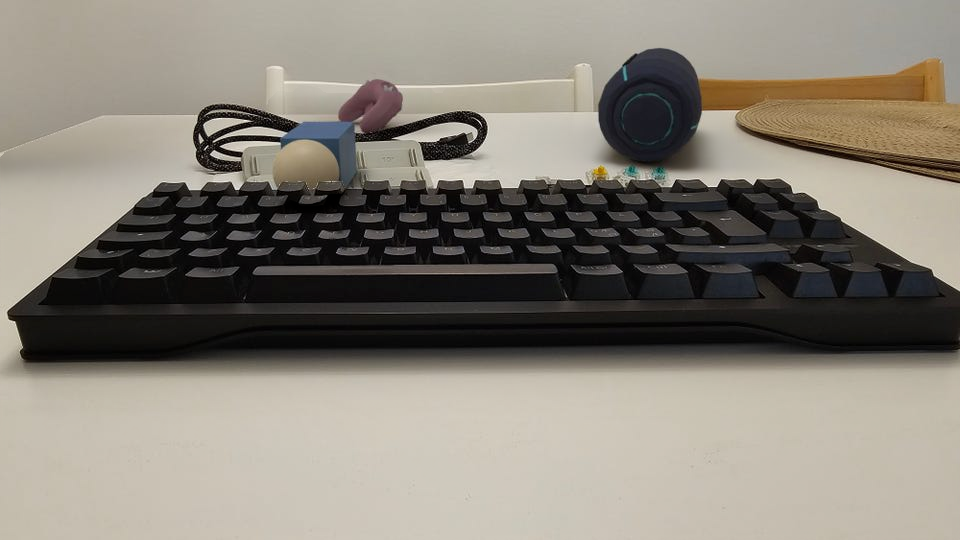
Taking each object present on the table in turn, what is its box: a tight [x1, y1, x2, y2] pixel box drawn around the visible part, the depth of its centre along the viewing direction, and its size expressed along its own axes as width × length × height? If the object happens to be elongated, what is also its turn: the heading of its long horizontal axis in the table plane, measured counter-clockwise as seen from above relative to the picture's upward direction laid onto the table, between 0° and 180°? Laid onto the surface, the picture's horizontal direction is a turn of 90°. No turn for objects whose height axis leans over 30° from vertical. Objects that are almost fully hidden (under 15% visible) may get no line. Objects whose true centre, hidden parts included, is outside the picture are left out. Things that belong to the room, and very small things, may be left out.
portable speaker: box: [597, 47, 703, 163], centre depth 75 cm, size 25×10×10 cm, turn 164°
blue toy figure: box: [272, 121, 358, 189], centre depth 57 cm, size 5×5×14 cm
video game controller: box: [337, 78, 404, 134], centre depth 86 cm, size 10×5×7 cm, turn 29°
